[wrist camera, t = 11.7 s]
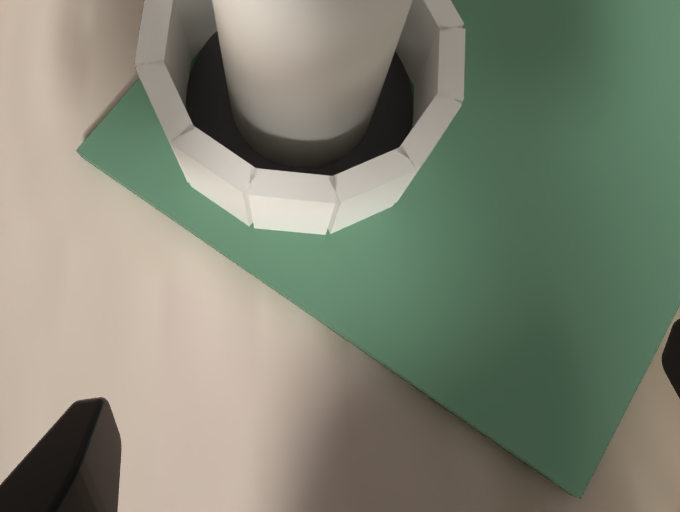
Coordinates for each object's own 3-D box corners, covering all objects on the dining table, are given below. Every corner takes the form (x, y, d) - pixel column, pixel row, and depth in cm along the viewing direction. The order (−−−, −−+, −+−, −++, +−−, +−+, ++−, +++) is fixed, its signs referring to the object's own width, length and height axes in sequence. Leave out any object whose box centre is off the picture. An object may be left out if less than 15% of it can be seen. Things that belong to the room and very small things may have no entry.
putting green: (796, 59, 24) (901, -6, 20) (571, 495, 19) (648, 524, 15) (393, -200, 25) (415, -313, 21) (82, 157, 20) (32, 100, 16)
